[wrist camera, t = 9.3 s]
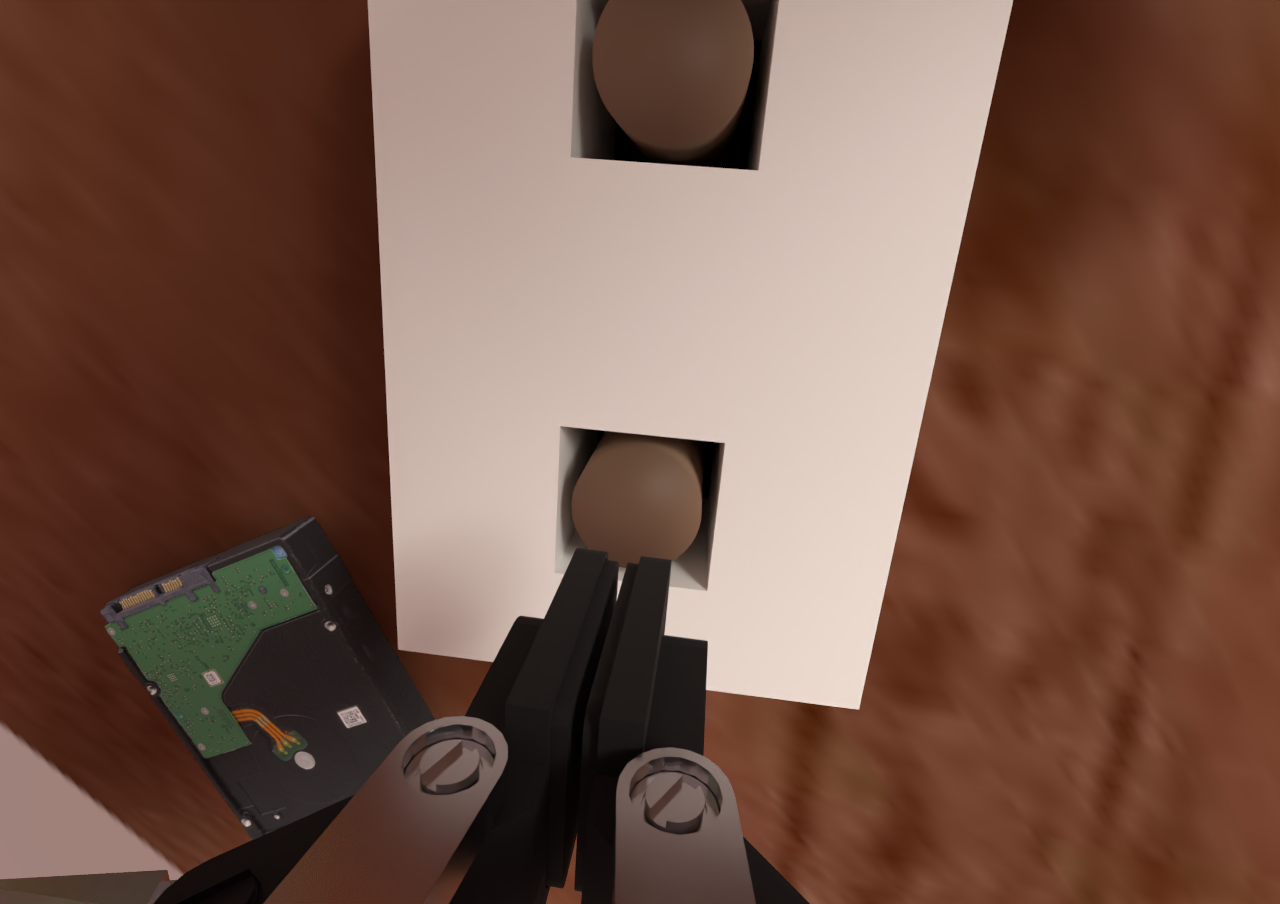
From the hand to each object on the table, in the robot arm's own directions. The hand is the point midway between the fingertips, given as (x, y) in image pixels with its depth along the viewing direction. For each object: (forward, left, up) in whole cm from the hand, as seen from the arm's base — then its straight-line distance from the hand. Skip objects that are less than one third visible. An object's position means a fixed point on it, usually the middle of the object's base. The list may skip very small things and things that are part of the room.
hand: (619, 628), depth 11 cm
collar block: (0, -5, -14) cm, 15 cm away
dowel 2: (0, +1, -14) cm, 14 cm away
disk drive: (+15, +14, -14) cm, 25 cm away
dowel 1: (0, -10, -14) cm, 17 cm away
